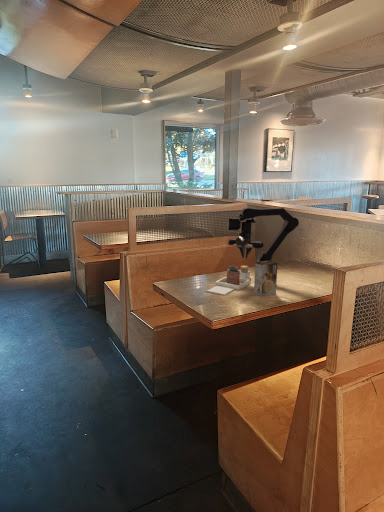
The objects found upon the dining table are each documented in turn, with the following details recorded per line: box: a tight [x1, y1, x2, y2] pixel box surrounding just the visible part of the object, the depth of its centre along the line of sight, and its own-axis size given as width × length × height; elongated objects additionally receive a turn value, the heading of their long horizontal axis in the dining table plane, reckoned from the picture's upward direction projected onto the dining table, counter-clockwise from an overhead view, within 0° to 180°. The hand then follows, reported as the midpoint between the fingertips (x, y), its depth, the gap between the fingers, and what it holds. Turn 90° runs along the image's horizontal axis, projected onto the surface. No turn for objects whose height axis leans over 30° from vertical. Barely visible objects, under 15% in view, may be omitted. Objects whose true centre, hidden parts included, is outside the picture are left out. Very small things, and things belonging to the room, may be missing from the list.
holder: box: [215, 270, 252, 291], centre depth 197 cm, size 14×22×4 cm, turn 147°
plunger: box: [240, 265, 249, 273], centre depth 202 cm, size 4×4×4 cm
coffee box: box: [253, 260, 278, 297], centre depth 177 cm, size 9×6×16 cm
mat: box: [206, 285, 235, 296], centre depth 182 cm, size 10×10×1 cm
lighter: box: [225, 265, 241, 285], centre depth 193 cm, size 8×3×10 cm, turn 47°
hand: (244, 258), depth 201 cm, fingers closed
